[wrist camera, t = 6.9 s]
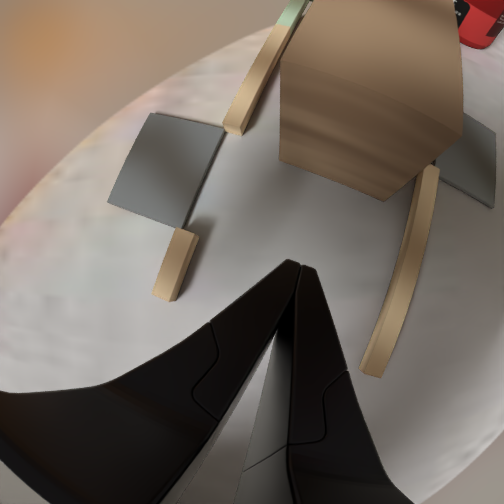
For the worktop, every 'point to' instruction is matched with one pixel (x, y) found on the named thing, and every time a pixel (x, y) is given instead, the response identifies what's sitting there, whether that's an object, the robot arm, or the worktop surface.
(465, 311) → the worktop surface
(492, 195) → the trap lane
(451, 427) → the worktop surface
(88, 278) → the worktop surface
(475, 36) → the canned food
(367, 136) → the walnut block
